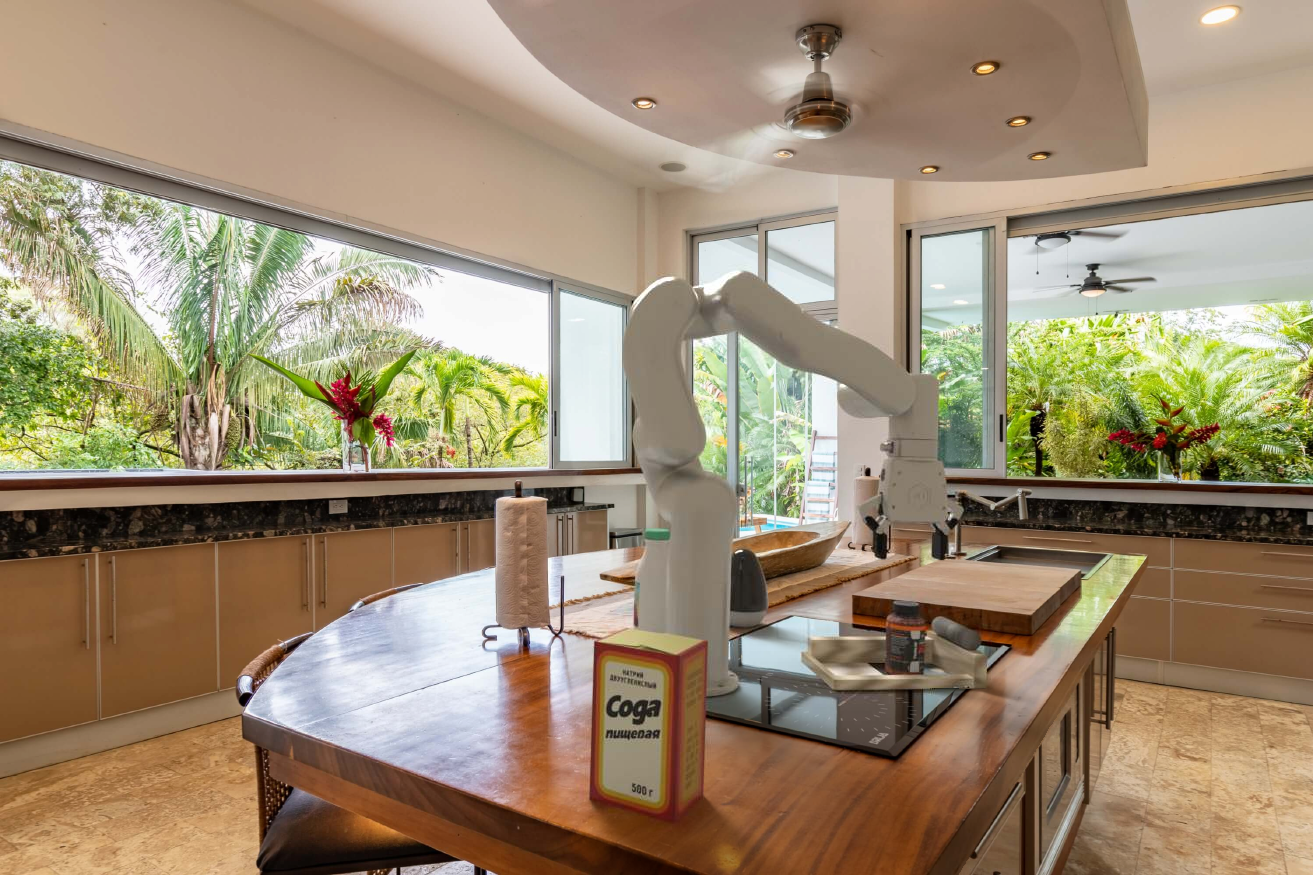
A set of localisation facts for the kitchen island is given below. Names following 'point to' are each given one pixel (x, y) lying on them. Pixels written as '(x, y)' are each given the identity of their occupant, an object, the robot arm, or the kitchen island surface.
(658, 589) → the milk bottle
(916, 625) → the supplement bottle
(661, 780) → the baking soda box
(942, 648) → the bay
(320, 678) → the kitchen island surface
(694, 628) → the robot arm
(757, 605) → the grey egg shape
